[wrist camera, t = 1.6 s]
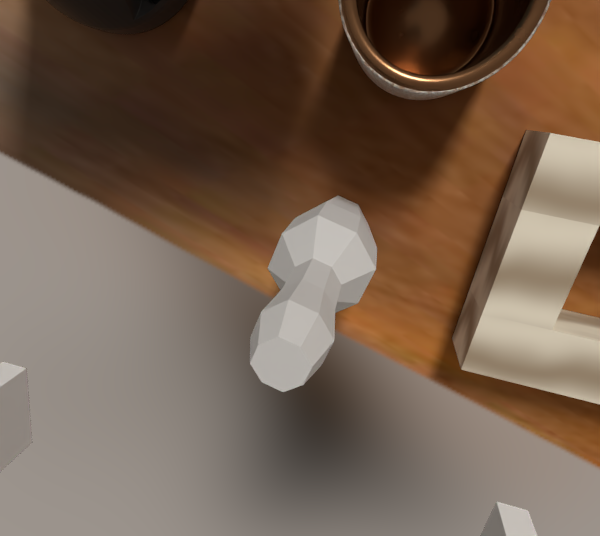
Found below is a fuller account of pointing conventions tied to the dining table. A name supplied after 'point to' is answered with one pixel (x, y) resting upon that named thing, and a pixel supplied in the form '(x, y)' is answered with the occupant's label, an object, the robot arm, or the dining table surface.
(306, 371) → the low poly bottle
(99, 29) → the robot arm
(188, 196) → the dining table surface
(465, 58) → the planter
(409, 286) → the dining table surface
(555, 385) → the socket block
